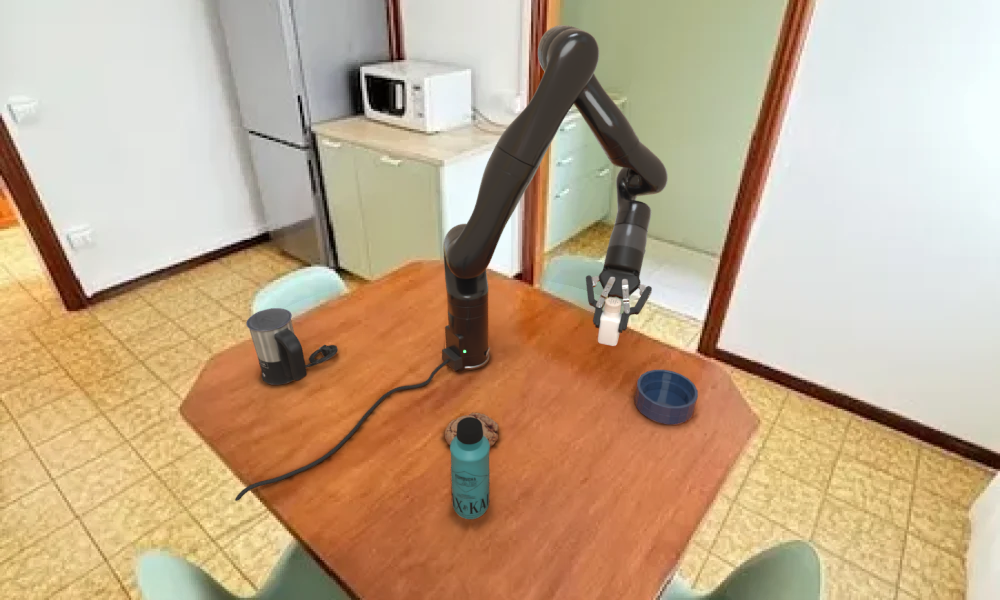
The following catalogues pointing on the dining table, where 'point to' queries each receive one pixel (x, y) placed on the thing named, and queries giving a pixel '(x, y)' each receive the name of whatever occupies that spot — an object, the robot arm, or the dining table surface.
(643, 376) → the bowl
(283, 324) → the milk frother
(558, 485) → the dining table surface
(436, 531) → the dining table surface
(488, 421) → the cookie
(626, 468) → the dining table surface
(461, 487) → the beverage bottle
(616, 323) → the salt shaker
